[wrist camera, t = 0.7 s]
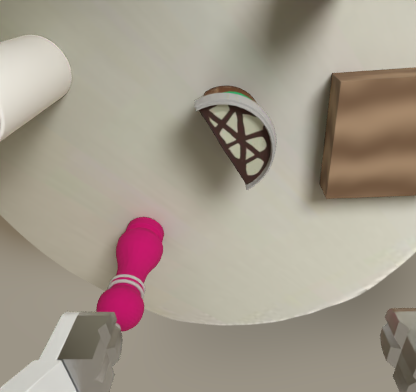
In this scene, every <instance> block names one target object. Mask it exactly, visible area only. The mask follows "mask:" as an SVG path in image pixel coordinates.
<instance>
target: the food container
mask: <svg viewBox="0 0 416 392" xmlns="http://www.w3.org/2000/svg"><path fill="white" fill-rule="evenodd" d="M194 101H195V108H196V111H198V110H199V111H200V113H201V115H202V116H203V117H204V119H205V120H206V122H207V123H208V125H209V126H210V128H211V130H212V131H213V133H214V134H215V136H216V138H217V139H218V141H219V143H220V145H221V146H222V148H223V150H224V151H225V153H226V154H227V156H228V157H229V158H230V160H231V161H232V163H233V164H234V166H235V168H236V169H237V171H238V172H239V174H240V175H241V177H242V178H243V180H244V182H245V184H246V190H248V189H250V188H252V187H253V186H255V185H256V184H257V183H258V182H259V181H260V180H261V179H262V178H263V177H264V176H265V175H266V173H267V172H268V170H269V169H270V167H271V165H272V162H273V159H274V155H275V151H276V133H275V128H274V125H273V123H272V121H271V119H270V117H269V116H268V114H267V113H266V112H265V111H264V110H263V109H262V107H261V106H259V105H258V104H257V103H256V101H255V100H254V98H253V97H252V96H251V95H250V94H249V93H247V92H246V91H244V90H242V89H240V88H237V87H234V86H219V87H215V88H212V89H210V90H208V91H206V92H205V94H204V96H203V97H200V98H198V99H196V100H194Z"/></svg>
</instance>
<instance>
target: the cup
mask: <svg viewBox="0 0 416 392" xmlns="http://www.w3.org/2000/svg"><path fill="white" fill-rule="evenodd" d="M71 81H72V73H71V68H70V65H69V62H68V60H67V58H66V56H65V55H64V53H63V52H62V51H61V50H60V48H59V47H58V46H56V45H55V44H54V43H53V42H51V41H50V40H48V39H46V38H44V37H42V36H38V35H23V36H19V37H16V38H12V39H9V40H5V41H2V42H0V141H2V140H3V139H5V138H6V137H7V136H9V135H10V134H12V133H13V132H14V131H16V130H17V129H19V128H20V127H21V126H23V125H24V124H25V123H27V122H28V121H30V120H31V119H32V118H34V117H35V116H37V115H38V114H39V113H41V112H42V111H44V110H45V109H46V108H48V107H49V106H50V105H52V104H53V103H55V102H56V101H57V100H59V99H60V98H62V97H63V96H64V95H65V94H66V93H67V92H68V90H69V88H70V85H71Z"/></svg>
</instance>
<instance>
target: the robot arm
mask: <svg viewBox="0 0 416 392" xmlns="http://www.w3.org/2000/svg"><path fill="white" fill-rule="evenodd" d="M385 318H386V321H387V324H386V325H385V326H383V327H382V330H381V334H380V339H381V346H382V350H383V354H384V356H385V359H386V361H387V362H388V363H390V364H391V365H392V366H393V367H394V368H395V371H394V374H393V378H394V380H395V382H396V385H397V387H398V389H399V392H416V308H398V309H397V308H396V309H395V308H394V309H389V310H388V311H387V312H386V315H385ZM116 321H117V318H116V315H115V313H114V312H65V313H64V314H63V315H62V316H61V317H60V319H59V321H58V323H57V325H56V327H55V329H54V331H53V333H52V335H51V337H50V339H49V341H48V343H47V344H46V346H45V348H44V350H43V352H42V354H41V356H40V358H39V360H33V361H32V362H31V363H30V364H28V365H27V366H26V367H25V368H24V369H22V370H21V371H20V372H19V373H18V374H16V375H15V376H14V377H13V378H11V379H10V380H9V381H8V382H7V383H5V384H4V385H3V386H2V387H0V392H110V388H111V385H112V382H113V378H114V375H115V374H114V371H113V368H112V366H114V365H115V364H116V363H117V362H118V361H119V358H120V355H121V350H122V333H121V330H120V328H118V327H117V326H116V325H115V324H116Z"/></svg>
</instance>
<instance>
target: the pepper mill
mask: <svg viewBox="0 0 416 392" xmlns="http://www.w3.org/2000/svg"><path fill="white" fill-rule="evenodd" d="M163 237H164V231H163V228H162V227H161V225H160V224H159V223H158V222H157V221H155V220H153V219H151V218H147V217H139V218H136V219H134V220H132V221H131V222H130V223H129V224H128V226H127V229H126V231H125V233H124V234H122V235H121V237H120V238H119V240H118V243H117V247H116V257H117V263H118V270H117V274H116V276H115V277H113V278H112V279H111V281H110V283H109V286H108V288H107V290H106V291H105V292H104V293H103V294H102V295H101V296H100V298H99V300H98V304H97V312H114V313H115V315H116V318H117V321H116V324H115V325H116V326H117V327H118V328H120V330H121V331H127V330H129V329H131V328H133V327H134V326H136V325H137V324H138V322H139V321H140V320H141V318H142V315H143V312H144V303H143V297H144V293H145V285H144V281H145V279H146V276H147V275H148V273H149V272H150V271H151V270H152V269H153V268H154V267H156V265H157V264H158V262H159V261H160V259H161V256H162V253H163V245H162V241H163Z"/></svg>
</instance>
